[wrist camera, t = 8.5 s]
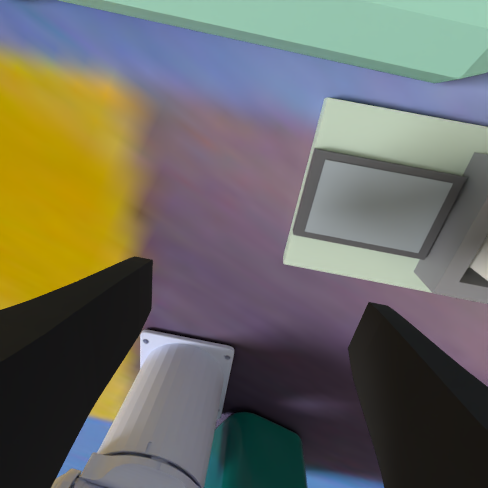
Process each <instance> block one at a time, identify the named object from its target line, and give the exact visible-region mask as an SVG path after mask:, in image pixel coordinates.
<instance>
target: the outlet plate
mask: <svg viewBox="0 0 488 488" xmlns="http://www.w3.org/2000/svg"><path fill="white" fill-rule="evenodd" d="M487 235H488V127H485V126H479V125H474V124H468V123H463V122H458V121H452V120H447V119H441V118H436V117H430V116H425V115H420V114H414V113H409V112H403V111H398V110H392V109H387V108H382V107H376V106H371V105H365V104H360V103H355V102H349V101H344V100H338V99H333V98H325V99H324V102H323V106H322V110H321V114H320V117H319V121H318V125H317V129H316V133H315V137H314V140H313V144H312V148H311V152H310V156H309V160H308V163H307V167H306V171H305V175H304V179H303V183H302V186H301V190H300V194H299V198H298V202H297V206H296V209H295V213H294V217H293V221H292V225H291V229H290V232H289V236H288V240H287V244H286V248H285V252H284V255H283V263H284V264H287V265H292V266H297V267H302V268H307V269H312V270H318V271H323V272H328V273H333V274H338V275H343V276H349V277H354V278H359V279H364V280H369V281H374V282H380V283H385V284H390V285H395V286H400V287H405V288H411V289H416V290H421V291H426V292H431V293H434V294H439V295H444V296H449V297H455V298H460V299H465V300H470V301H475V302H480V303H486V304H488V281H487V280H486V279H485V278H483V277H482V276H481V275H479V274H478V273H477V272H476V271H474V270H473V269H472V268H470V267H469V265H470V263H471V262H472V260H473V258H474V257H475V255H476V253H477V252H478V250H479V248H480V247H481V245H482V243H483V242H484V240H485V239H486V237H487Z"/></svg>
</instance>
